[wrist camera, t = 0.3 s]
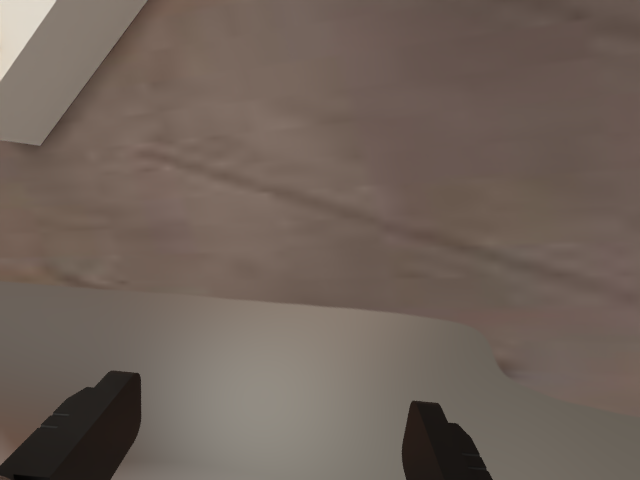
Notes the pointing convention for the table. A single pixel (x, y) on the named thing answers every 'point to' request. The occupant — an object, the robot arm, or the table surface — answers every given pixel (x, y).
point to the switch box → (52, 58)
